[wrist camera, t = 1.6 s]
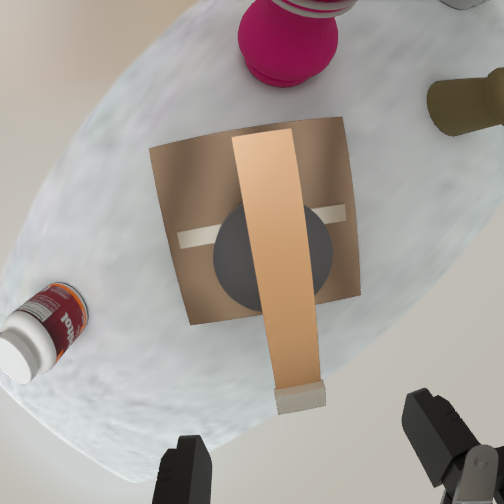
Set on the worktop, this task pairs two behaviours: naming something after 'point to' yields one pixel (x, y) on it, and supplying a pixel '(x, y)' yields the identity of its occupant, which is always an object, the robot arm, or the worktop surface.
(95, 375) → the worktop surface
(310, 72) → the pepper mill
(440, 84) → the cork
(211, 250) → the square stand base
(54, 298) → the pill bottle
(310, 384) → the tan long piece
